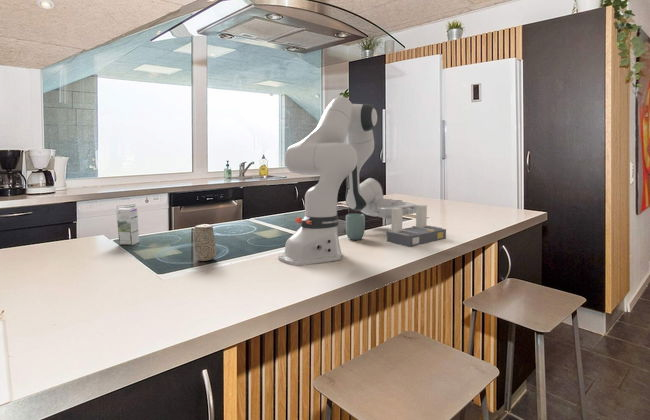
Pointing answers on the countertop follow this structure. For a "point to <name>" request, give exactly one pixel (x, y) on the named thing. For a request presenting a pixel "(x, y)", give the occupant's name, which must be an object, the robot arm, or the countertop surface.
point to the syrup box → (127, 225)
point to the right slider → (421, 215)
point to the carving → (204, 242)
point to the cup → (355, 226)
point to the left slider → (396, 219)
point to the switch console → (416, 235)
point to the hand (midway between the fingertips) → (411, 211)
